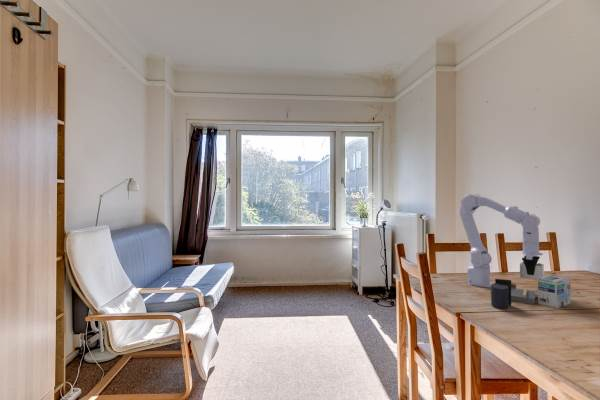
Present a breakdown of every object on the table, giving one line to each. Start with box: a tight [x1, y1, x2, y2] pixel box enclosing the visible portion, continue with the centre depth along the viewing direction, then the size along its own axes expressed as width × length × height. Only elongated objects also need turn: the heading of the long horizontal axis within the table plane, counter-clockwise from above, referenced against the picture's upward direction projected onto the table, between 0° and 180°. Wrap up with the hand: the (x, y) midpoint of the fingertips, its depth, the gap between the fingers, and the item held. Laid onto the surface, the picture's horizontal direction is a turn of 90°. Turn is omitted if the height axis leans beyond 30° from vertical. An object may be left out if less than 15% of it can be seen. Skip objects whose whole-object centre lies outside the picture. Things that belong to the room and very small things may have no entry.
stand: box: [511, 287, 536, 305], centre depth 134 cm, size 14×12×4 cm
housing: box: [519, 261, 545, 281], centre depth 139 cm, size 8×5×6 cm, turn 49°
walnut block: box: [511, 281, 517, 289], centre depth 144 cm, size 4×4×3 cm
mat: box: [516, 287, 538, 297], centre depth 141 cm, size 16×9×1 cm, turn 53°
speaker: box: [490, 278, 512, 310], centre depth 124 cm, size 8×6×10 cm
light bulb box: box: [537, 274, 572, 309], centre depth 125 cm, size 11×7×11 cm, turn 118°
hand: (531, 273), depth 139 cm, fingers closed on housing, 5 cm apart
